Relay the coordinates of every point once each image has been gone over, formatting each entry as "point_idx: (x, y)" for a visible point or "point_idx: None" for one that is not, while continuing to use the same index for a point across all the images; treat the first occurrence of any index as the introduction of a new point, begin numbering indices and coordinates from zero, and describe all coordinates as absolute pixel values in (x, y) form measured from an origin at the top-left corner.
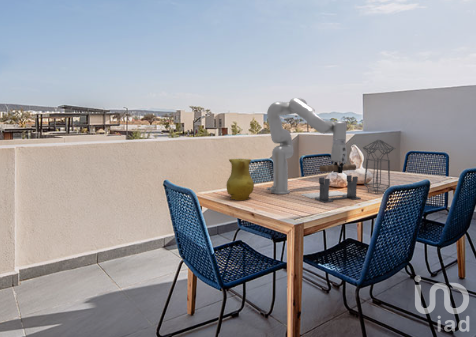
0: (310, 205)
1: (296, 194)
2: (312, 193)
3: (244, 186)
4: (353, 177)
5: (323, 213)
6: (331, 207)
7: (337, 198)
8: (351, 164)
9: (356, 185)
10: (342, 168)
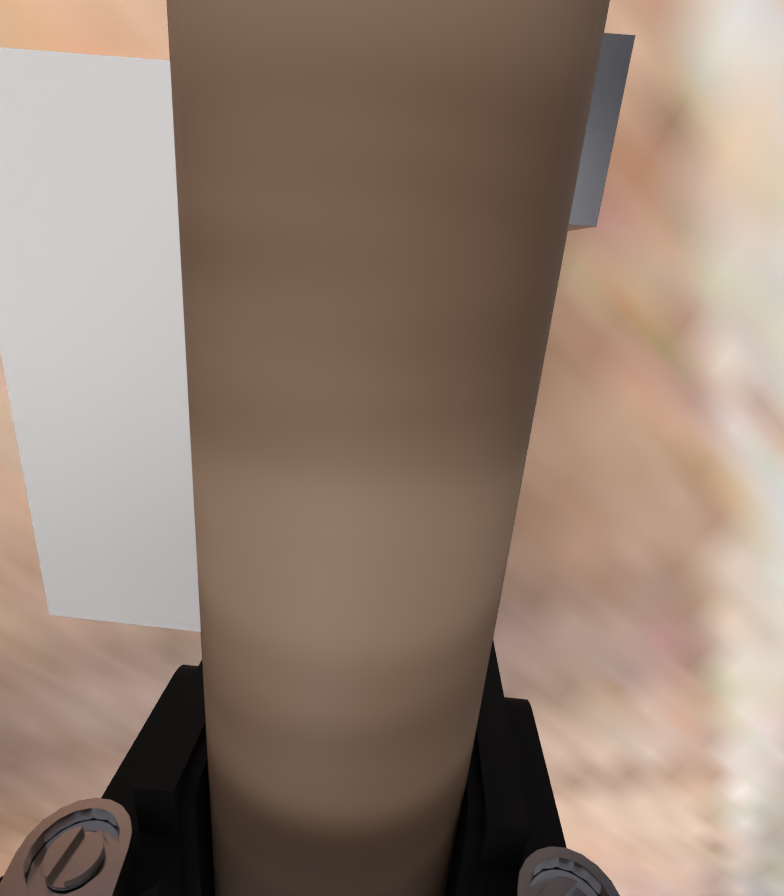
0: None
1: (14, 623)
2: (48, 495)
3: None
4: (584, 225)
5: (753, 852)
6: (656, 705)
7: None
8: None
9: None
10: (512, 753)
